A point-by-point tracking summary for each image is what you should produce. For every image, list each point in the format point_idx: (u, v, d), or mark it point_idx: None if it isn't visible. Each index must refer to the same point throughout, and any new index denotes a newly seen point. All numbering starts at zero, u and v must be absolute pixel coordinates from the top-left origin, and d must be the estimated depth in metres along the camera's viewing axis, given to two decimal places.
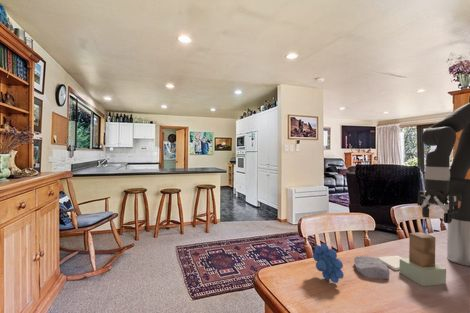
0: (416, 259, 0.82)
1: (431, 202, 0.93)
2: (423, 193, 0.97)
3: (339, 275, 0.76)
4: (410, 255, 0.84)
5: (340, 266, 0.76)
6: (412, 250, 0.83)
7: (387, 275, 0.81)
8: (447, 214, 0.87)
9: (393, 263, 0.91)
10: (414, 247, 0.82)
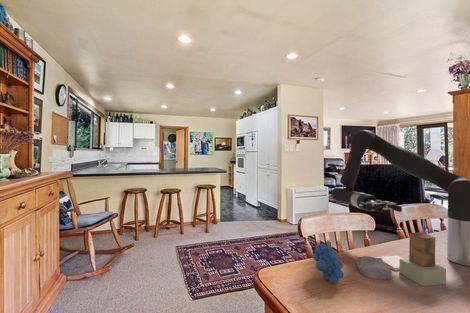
0: (416, 259, 0.82)
1: None
2: None
3: (339, 275, 0.76)
4: (410, 255, 0.84)
5: (340, 266, 0.76)
6: (412, 250, 0.83)
7: (390, 275, 0.81)
8: (374, 209, 0.97)
9: (393, 263, 0.91)
10: (414, 247, 0.82)
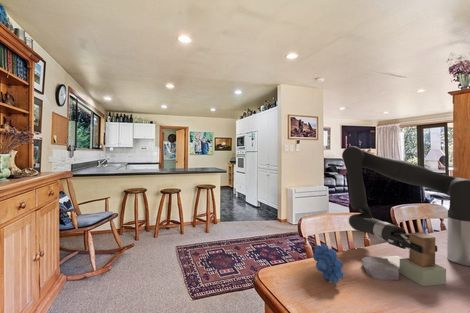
0: (416, 259, 0.82)
1: None
2: None
3: (339, 275, 0.76)
4: (410, 255, 0.84)
5: (340, 266, 0.76)
6: (412, 250, 0.83)
7: (397, 276, 0.81)
8: None
9: (393, 263, 0.91)
10: None
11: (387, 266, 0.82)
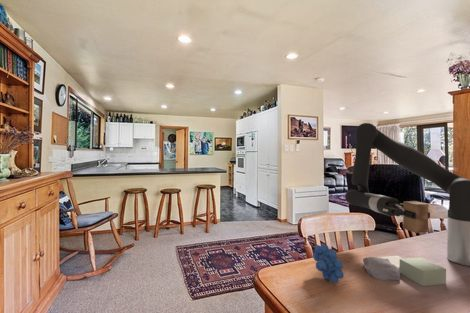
0: (409, 225, 0.84)
1: None
2: None
3: (339, 275, 0.76)
4: (404, 222, 0.86)
5: (340, 266, 0.76)
6: (406, 217, 0.85)
7: (398, 276, 0.80)
8: (405, 215, 0.84)
9: (393, 263, 0.91)
10: None
11: (388, 266, 0.82)
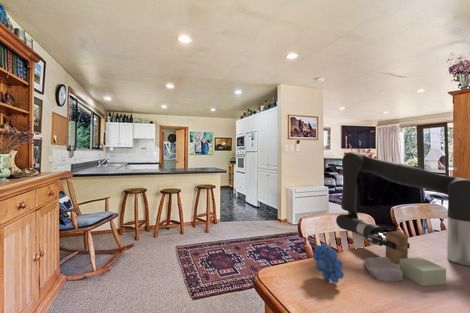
0: (391, 255, 0.92)
1: None
2: None
3: (339, 275, 0.76)
4: (386, 251, 0.94)
5: (340, 266, 0.76)
6: (388, 247, 0.93)
7: (401, 277, 0.80)
8: None
9: (393, 263, 0.91)
10: None
11: (391, 267, 0.82)
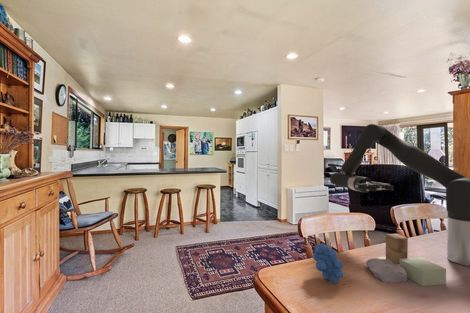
0: (390, 257, 0.92)
1: None
2: (378, 186, 1.14)
3: (339, 275, 0.76)
4: (386, 254, 0.94)
5: (340, 266, 0.76)
6: (388, 249, 0.93)
7: (405, 277, 0.80)
8: (369, 189, 1.06)
9: None
10: (389, 246, 0.93)
11: (395, 268, 0.81)
